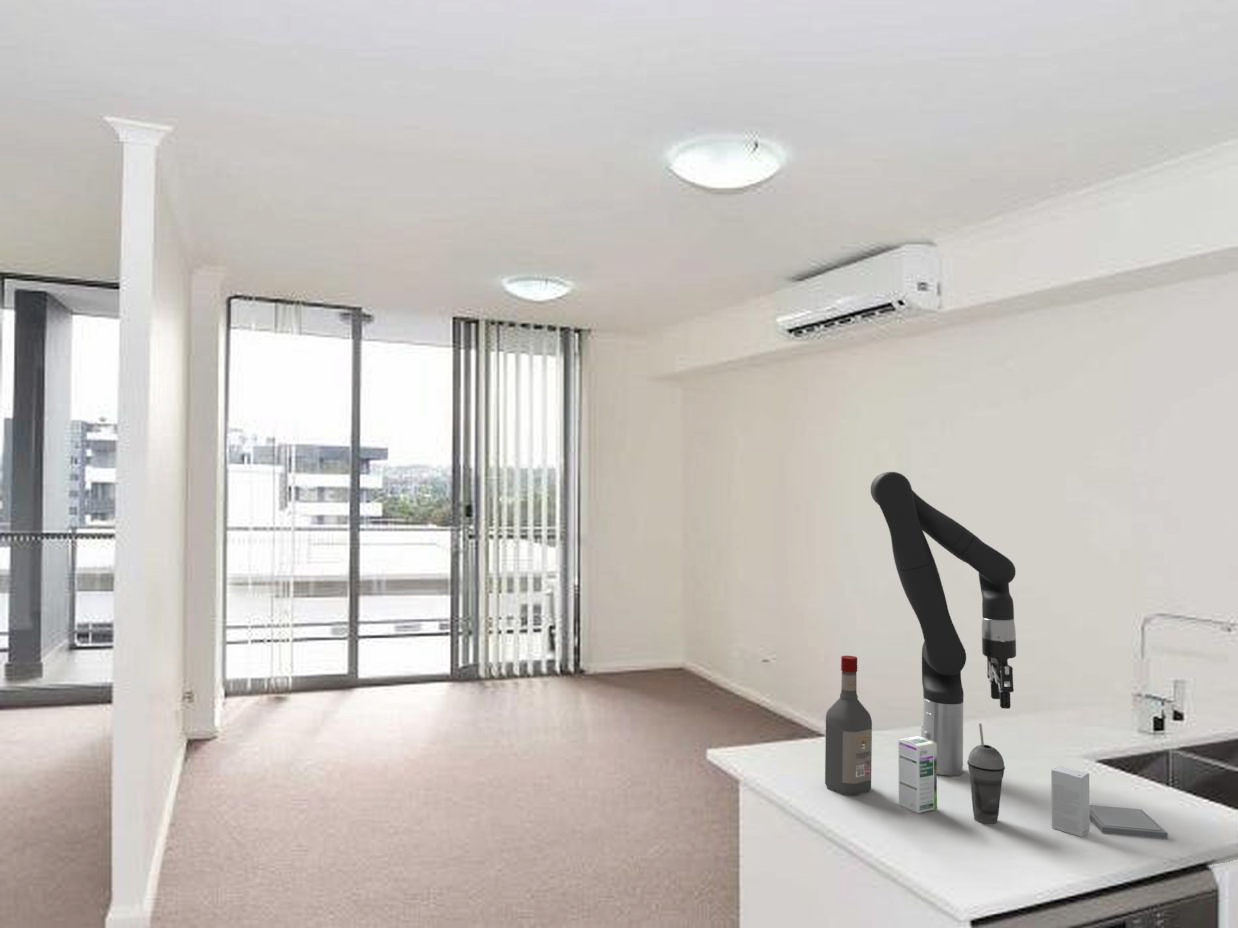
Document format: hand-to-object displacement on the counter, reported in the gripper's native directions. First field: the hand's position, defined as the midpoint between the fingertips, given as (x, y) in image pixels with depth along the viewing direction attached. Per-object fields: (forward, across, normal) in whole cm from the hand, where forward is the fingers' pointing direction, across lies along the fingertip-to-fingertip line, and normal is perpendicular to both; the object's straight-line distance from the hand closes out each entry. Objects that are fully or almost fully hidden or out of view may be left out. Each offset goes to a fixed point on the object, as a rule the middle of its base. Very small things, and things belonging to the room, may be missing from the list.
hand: (1000, 703), depth 199 cm
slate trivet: (+18, +25, +17) cm, 35 cm away
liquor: (+16, +18, -38) cm, 45 cm away
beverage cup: (+17, +30, -11) cm, 36 cm away
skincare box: (+18, +31, +5) cm, 36 cm away
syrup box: (+17, +26, -24) cm, 39 cm away
